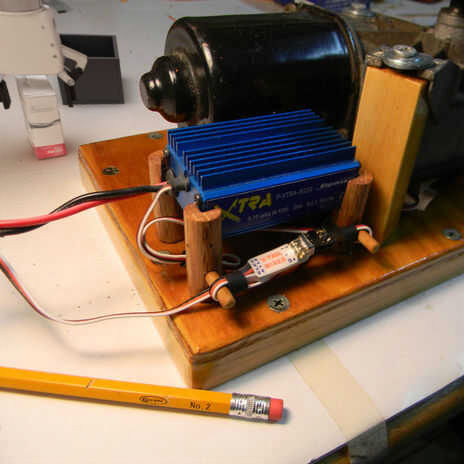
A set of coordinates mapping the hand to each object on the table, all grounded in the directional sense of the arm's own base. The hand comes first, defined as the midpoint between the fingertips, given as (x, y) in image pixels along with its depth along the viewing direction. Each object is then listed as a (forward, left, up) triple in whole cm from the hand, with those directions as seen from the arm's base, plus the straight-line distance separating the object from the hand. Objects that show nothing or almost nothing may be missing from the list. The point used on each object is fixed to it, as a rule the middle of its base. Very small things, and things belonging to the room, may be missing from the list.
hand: (40, 104), depth 81 cm
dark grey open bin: (+8, +24, -8) cm, 27 cm away
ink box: (0, 0, -8) cm, 8 cm away
